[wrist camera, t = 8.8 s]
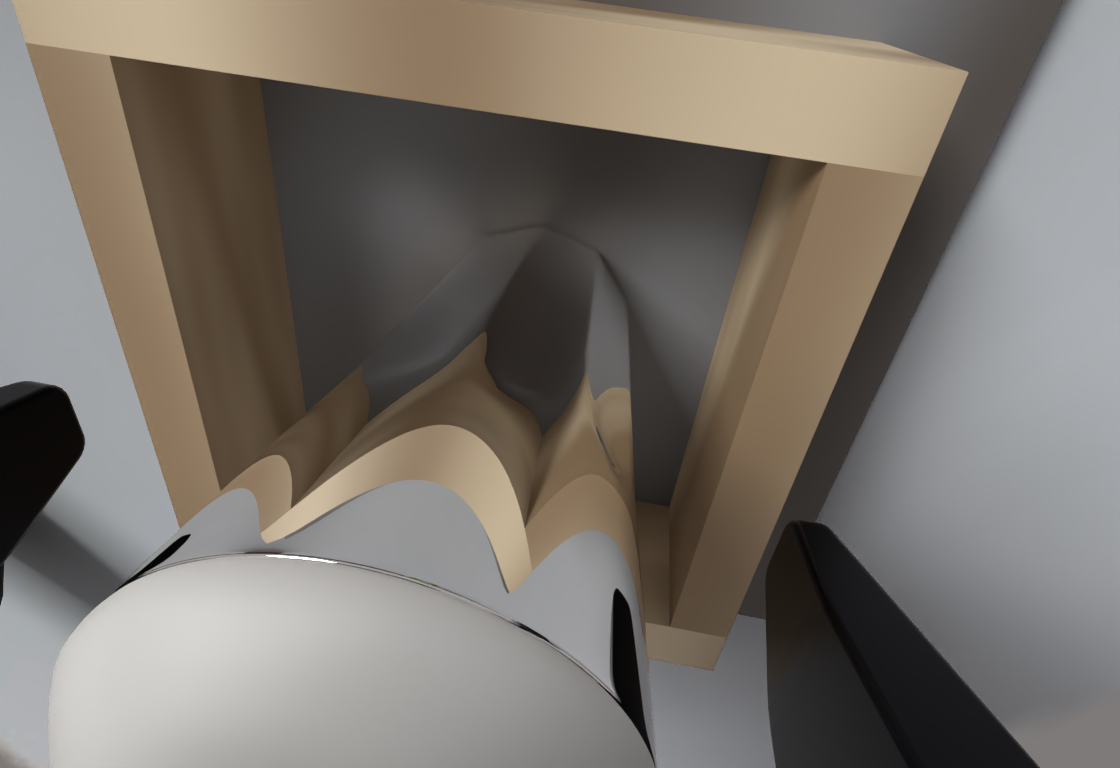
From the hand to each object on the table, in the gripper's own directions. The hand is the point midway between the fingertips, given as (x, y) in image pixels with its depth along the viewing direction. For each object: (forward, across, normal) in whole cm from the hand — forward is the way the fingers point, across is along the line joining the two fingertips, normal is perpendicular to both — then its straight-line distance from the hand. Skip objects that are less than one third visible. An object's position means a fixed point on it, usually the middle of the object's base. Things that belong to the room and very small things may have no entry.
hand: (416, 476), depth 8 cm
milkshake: (+5, -1, 0) cm, 5 cm away
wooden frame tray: (+5, 0, 0) cm, 5 cm away
